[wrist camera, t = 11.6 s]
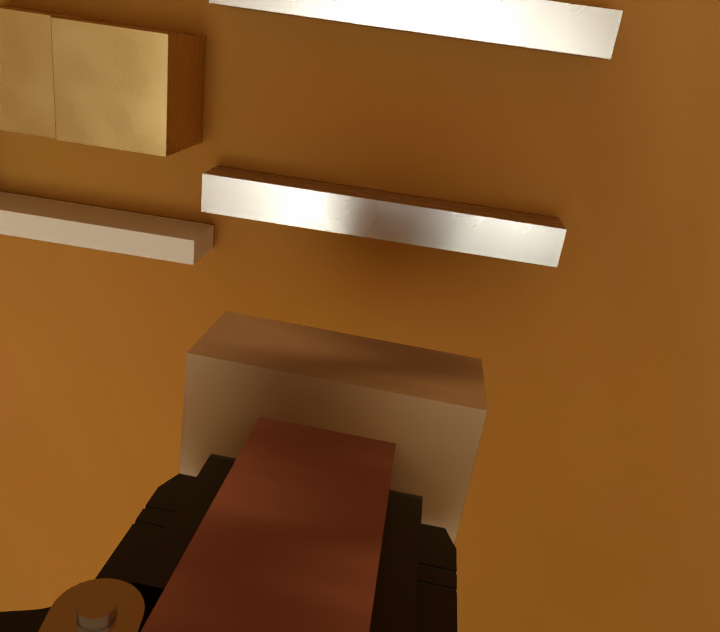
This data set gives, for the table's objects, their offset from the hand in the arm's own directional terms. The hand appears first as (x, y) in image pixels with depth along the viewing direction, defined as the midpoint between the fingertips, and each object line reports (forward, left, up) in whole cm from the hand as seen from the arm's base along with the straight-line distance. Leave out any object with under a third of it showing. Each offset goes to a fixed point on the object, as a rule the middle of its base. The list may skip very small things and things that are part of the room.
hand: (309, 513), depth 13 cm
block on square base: (0, 0, -3) cm, 3 cm away
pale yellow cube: (+10, -6, -16) cm, 20 cm away
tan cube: (+14, -6, -16) cm, 22 cm away
